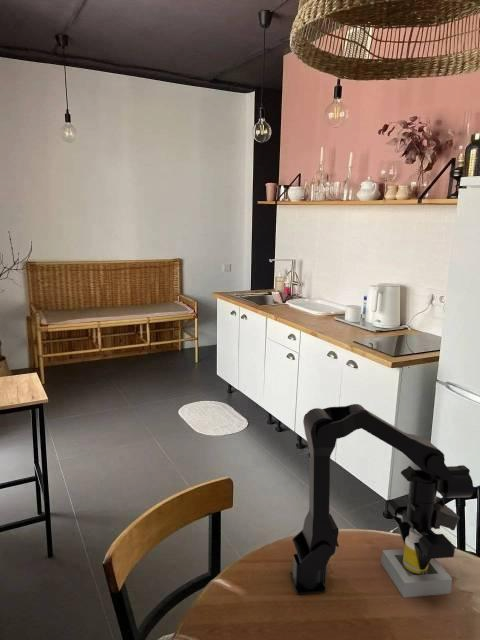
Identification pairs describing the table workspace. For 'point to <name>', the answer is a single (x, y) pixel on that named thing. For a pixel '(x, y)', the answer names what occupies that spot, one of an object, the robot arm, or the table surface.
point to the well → (416, 576)
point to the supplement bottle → (412, 555)
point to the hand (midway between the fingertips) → (415, 560)
